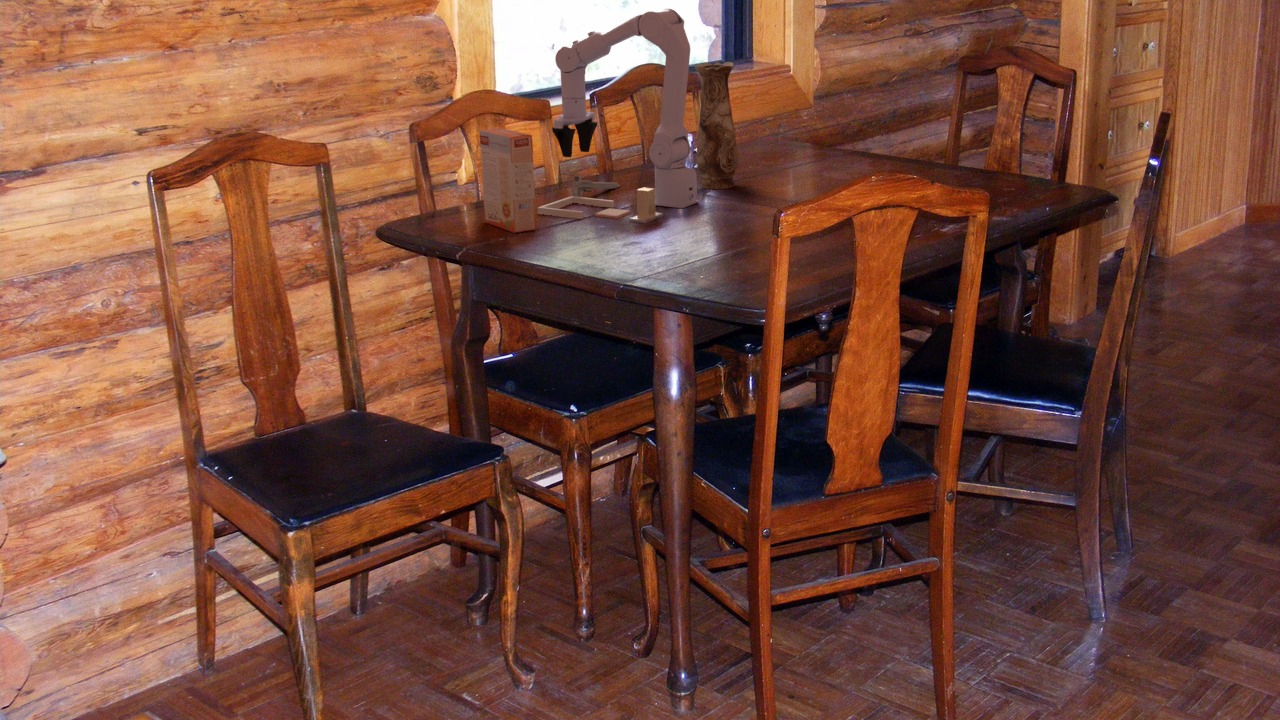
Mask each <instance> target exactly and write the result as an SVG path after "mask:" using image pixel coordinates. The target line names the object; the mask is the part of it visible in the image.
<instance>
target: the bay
mask: <svg viewBox="0 0 1280 720" xmlns="http://www.w3.org/2000/svg"><path fill="white" fill-rule="evenodd" d="M572 203H578V204H577V205H582V204H585V205H584V206H591V205H593V206H592V207H600V208H601V207H603V208H611V209H614V208H615V200H612V199H602V198H593V197H584V196H582V197H576V196H572V195H571V196H568V197H565V198H562V199H559V200H556V201H554V202H553V201H552V202H550V203H547V204H544V205H540V206H539V207H537V208H536V209H537V214H538V215H543V214H544V215H545V216H551V215H552V217H553V216H554V217H559V218H560V217H562V218H569V219H580V220H582V219H584V218H585V216H584V211H583V210H582V211H580V210H573V209H572V210H571V209H564V207H566V205H567V206H570V205H573V204H572ZM569 204H570V205H569ZM544 215H543V216H544Z"/></svg>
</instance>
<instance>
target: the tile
mask: <svg viewBox="0 0 1280 720" xmlns="http://www.w3.org/2000/svg"><path fill="white" fill-rule="evenodd" d="M631 214H632V213H631V210H628V209H617V208H609V207H607V208H606V209H603V210H601V211H598V212H596V213H594V217H597V218H598V217H599V218H607V219H608V218H609V219H616V220H617V219H620V218H622V217H625V216H627V215H631Z"/></svg>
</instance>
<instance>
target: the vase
mask: <svg viewBox="0 0 1280 720" xmlns="http://www.w3.org/2000/svg"><path fill="white" fill-rule="evenodd" d="M734 67H735V64H734V63H733V62H731V61H725V62H723V64H722V63H720V62H714V63H713V64H711V63H710V62H701V63H698V64H696V65H695V66H694V68H695V70H696V72H697V73H698V74H699V76H700V79H701V97H700V98H701V99H700V101H701V102H700V114H699V123H698V133H697V141H696V142H697V143H696V166H697V171H698V174H699V175H700V177H701V178H702V182H701V183H700V187H701V188H703V189H708V190H724V189H731V188H734V187H735V186H737V184H736V182H735V181H734V176H735V175H736V173H737V171H738V167H739V154H738V153H739V152H738V143H737V137H736V132H735V125H734V119H733V112H732V106H731V105H732V104H731V99H730V91H729V89H730V88H729V76H730V75H731V72H732V71H733V68H734Z"/></svg>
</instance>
